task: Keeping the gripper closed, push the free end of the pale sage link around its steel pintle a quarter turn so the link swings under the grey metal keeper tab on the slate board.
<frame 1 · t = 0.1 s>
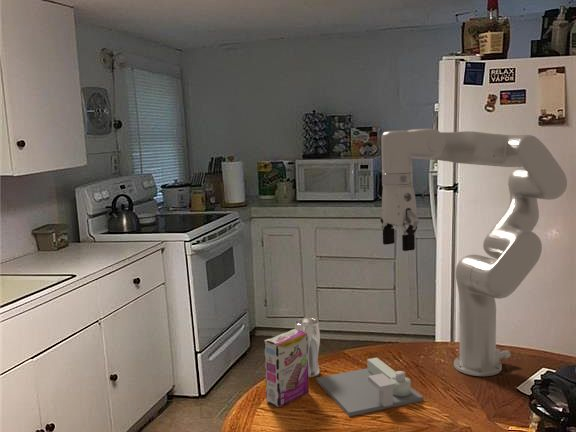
hand: (398, 247, 143), 37 cm above the table, tool pointing down, fingers open, 9 cm apart
link: (387, 372, 146), point 4 cm above the table, hinge at 0.0°
beer glass: (308, 373, 157), on the table
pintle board: (400, 396, 141), on the table
candy bar box: (288, 398, 143), on the table
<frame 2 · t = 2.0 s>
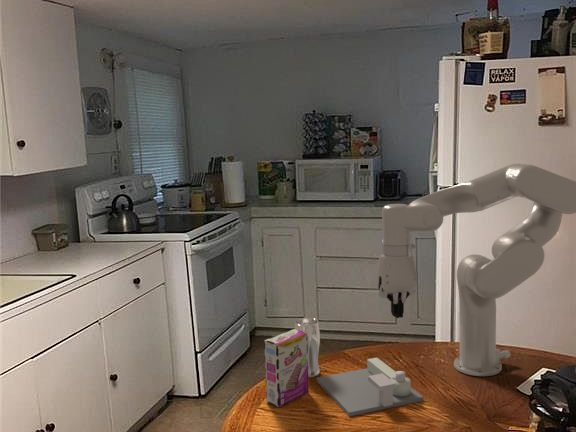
hand: (397, 316, 153), 16 cm above the table, tool pointing down, fingers closed
nothing on the table moved.
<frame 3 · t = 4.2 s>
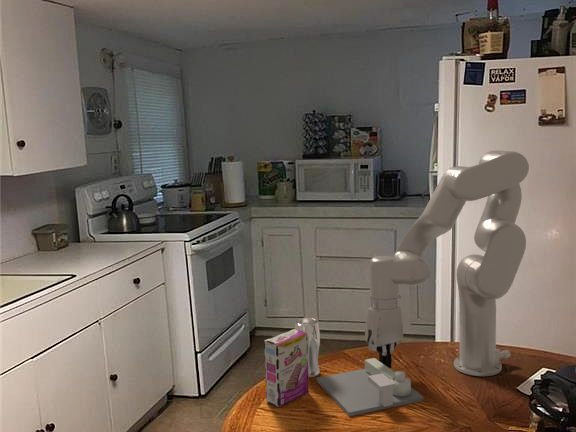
hand: (385, 367, 153), 2 cm above the table, tool pointing down, fingers closed
link: (386, 372, 146), point 4 cm above the table, hinge at 3.0°, touching gripper
everything else where it was.
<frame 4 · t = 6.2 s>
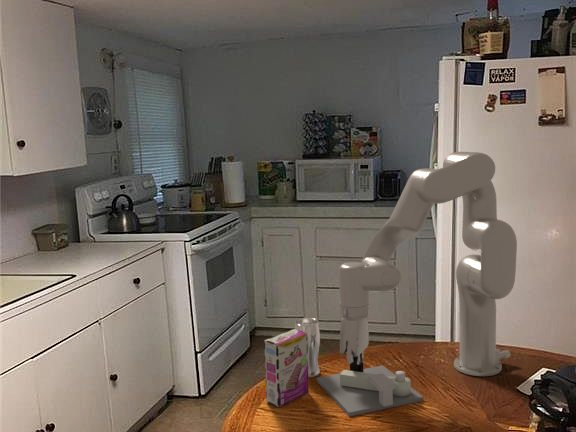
hand: (356, 376, 149), 2 cm above the table, tool pointing down, fingers closed
link: (375, 378, 143), point 4 cm above the table, hinge at 46.4°, touching gripper
everything else where it was.
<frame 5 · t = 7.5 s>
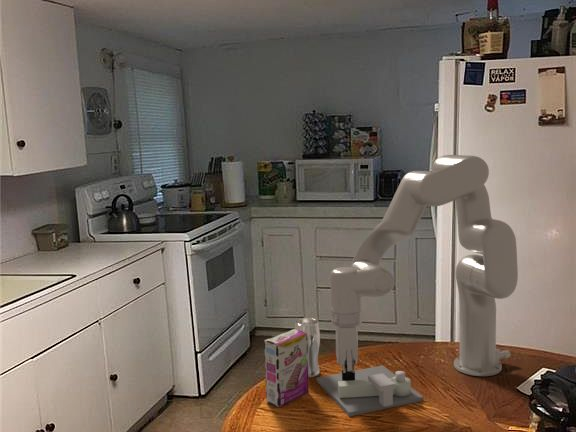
hand: (348, 385, 144), 2 cm above the table, tool pointing down, fingers closed
link: (374, 383, 140), point 4 cm above the table, hinge at 72.9°, touching gripper
everything else where it was.
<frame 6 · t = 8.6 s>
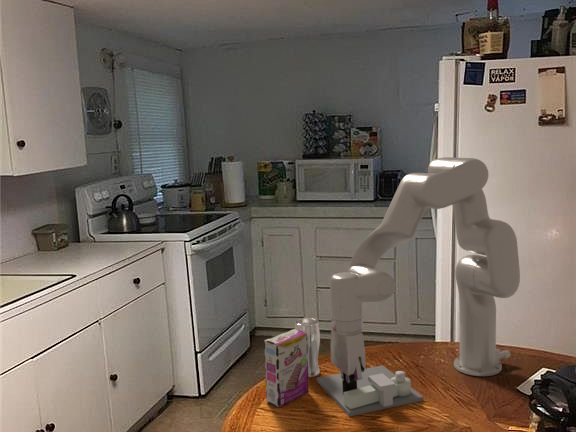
hand: (350, 395, 138), 2 cm above the table, tool pointing down, fingers closed
link: (378, 388, 137), point 4 cm above the table, hinge at 96.3°, touching gripper, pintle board
everything else where it was.
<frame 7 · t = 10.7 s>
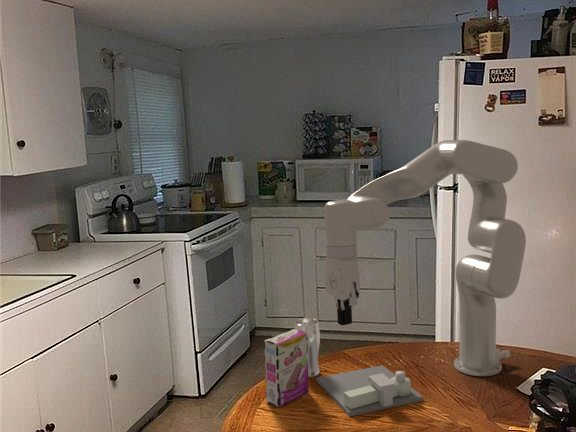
hand: (345, 323, 139), 19 cm above the table, tool pointing down, fingers closed
link: (378, 388, 137), point 4 cm above the table, hinge at 96.3°
everything else where it was.
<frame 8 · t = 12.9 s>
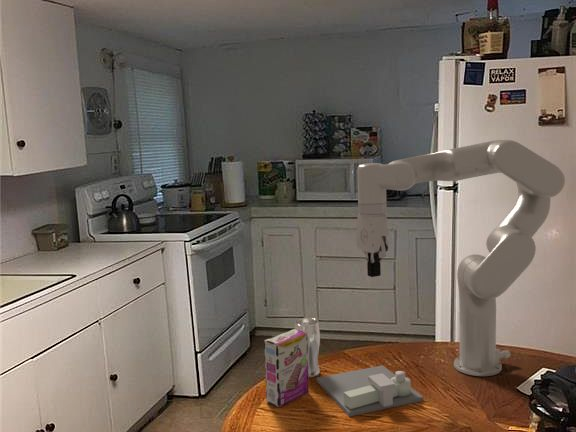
hand: (374, 275, 153), 27 cm above the table, tool pointing down, fingers closed
nothing on the table moved.
at the end: link at +96° (first picture: +0°) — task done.
